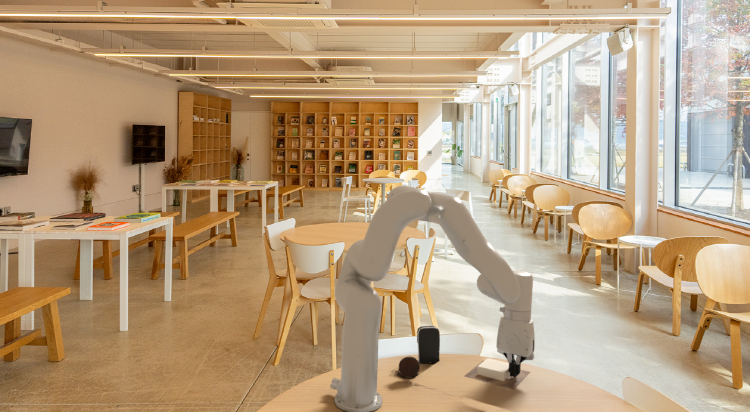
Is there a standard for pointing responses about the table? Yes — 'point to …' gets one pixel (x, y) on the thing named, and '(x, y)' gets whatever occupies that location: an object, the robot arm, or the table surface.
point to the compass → (408, 367)
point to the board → (508, 382)
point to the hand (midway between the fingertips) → (514, 375)
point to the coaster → (494, 369)
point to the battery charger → (428, 344)
